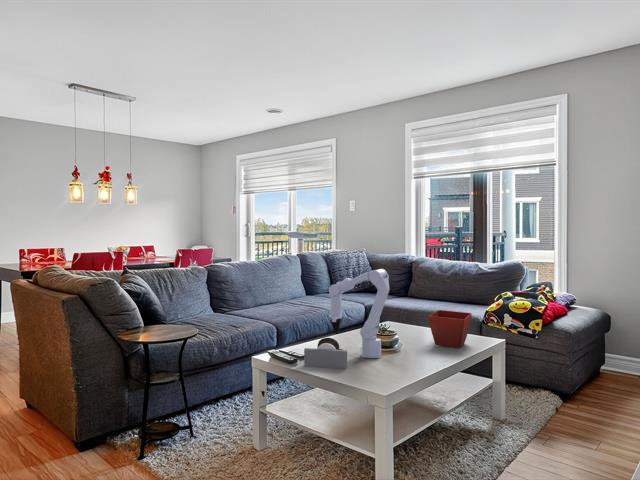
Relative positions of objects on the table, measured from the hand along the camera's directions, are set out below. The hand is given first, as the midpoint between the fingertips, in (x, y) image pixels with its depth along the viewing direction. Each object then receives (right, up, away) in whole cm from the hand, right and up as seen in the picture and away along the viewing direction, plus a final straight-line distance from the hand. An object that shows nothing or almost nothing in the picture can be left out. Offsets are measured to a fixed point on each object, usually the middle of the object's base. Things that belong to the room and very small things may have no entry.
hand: (336, 333), depth 243 cm
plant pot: (+63, -9, +11) cm, 64 cm away
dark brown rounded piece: (-4, -10, -16) cm, 20 cm away
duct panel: (-6, -10, -27) cm, 30 cm away
